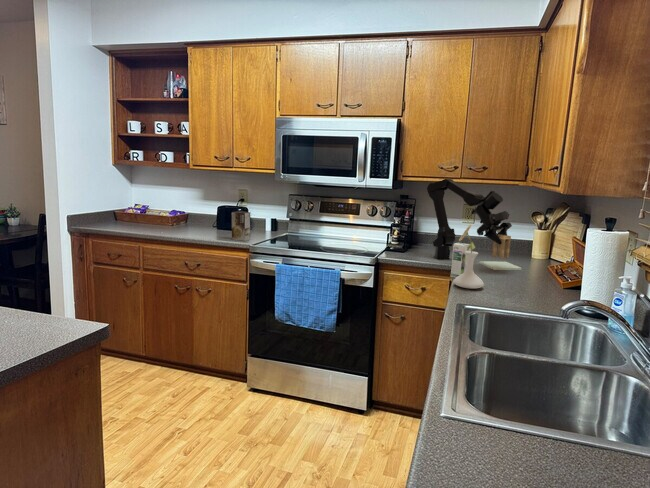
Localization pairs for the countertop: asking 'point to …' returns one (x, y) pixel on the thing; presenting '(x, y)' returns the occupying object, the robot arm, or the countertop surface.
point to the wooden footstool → (502, 247)
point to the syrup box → (459, 259)
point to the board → (499, 265)
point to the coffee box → (241, 226)
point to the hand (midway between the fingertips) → (504, 243)
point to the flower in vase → (469, 268)
